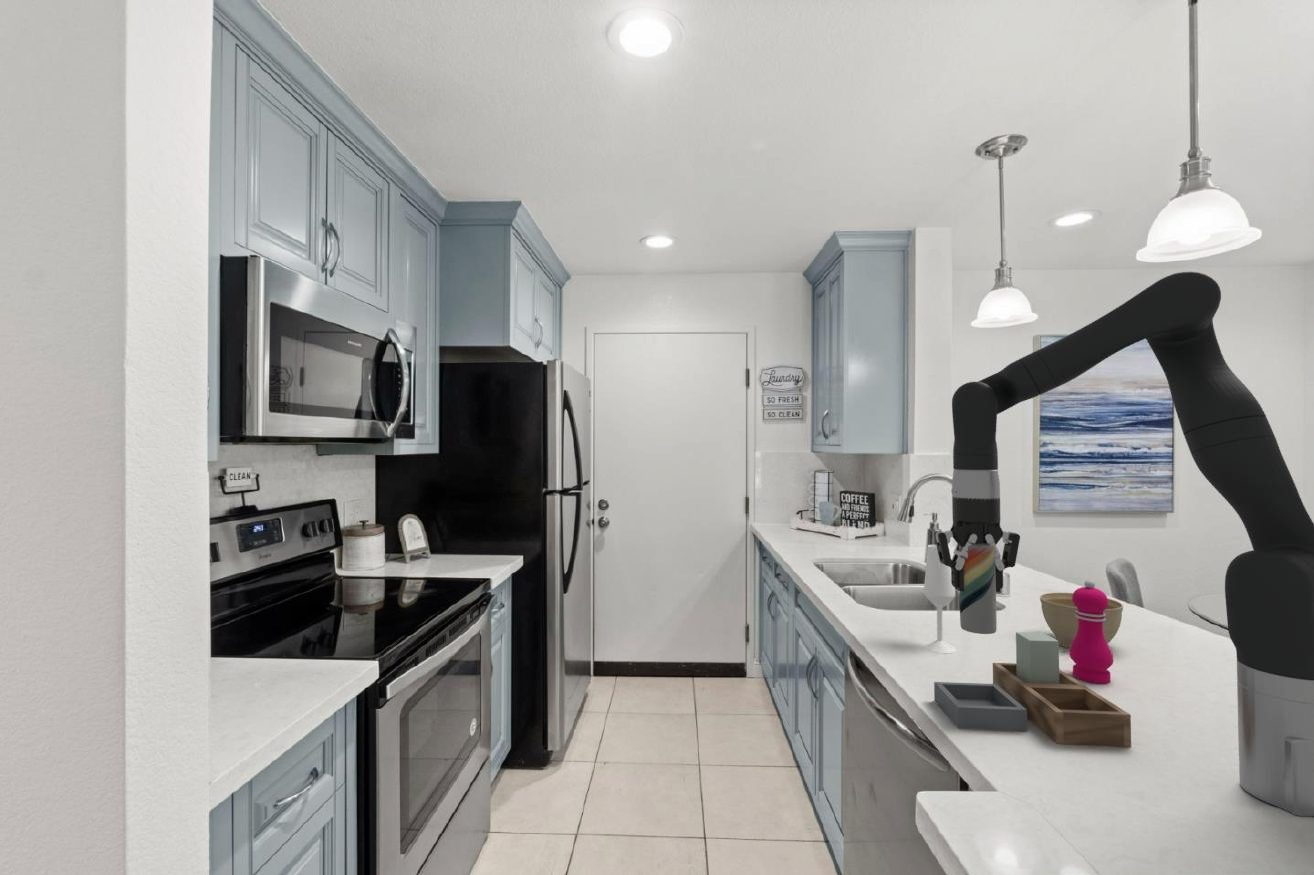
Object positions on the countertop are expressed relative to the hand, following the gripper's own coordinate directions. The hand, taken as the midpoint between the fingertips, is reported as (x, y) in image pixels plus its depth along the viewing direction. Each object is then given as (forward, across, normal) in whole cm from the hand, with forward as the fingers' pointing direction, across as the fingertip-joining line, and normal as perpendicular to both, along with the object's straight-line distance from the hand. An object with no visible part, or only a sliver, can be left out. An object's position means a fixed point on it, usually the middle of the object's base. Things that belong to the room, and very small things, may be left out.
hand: (977, 590), depth 105 cm
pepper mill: (+22, +30, +20) cm, 43 cm away
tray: (+22, 0, 0) cm, 22 cm away
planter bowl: (+22, +40, +41) cm, 62 cm away
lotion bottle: (+7, 0, 0) cm, 7 cm away
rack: (+22, +13, +2) cm, 26 cm away
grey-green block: (+22, +13, +7) cm, 27 cm away
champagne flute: (+22, +6, +36) cm, 43 cm away
